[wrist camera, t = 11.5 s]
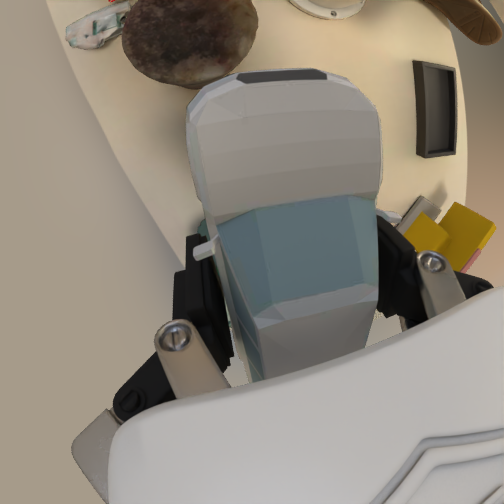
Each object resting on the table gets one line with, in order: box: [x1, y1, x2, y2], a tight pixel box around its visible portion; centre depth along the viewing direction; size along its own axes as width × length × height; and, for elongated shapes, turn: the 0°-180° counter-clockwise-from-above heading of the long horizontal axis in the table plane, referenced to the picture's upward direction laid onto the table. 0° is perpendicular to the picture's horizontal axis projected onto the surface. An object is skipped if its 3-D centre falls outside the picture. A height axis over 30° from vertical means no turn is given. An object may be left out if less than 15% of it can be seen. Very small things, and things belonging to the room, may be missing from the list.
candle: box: [122, 0, 258, 89], centre depth 17 cm, size 8×7×20 cm
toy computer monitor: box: [396, 196, 496, 273], centre depth 40 cm, size 20×8×16 cm, turn 146°
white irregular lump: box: [66, 1, 130, 50], centre depth 19 cm, size 4×8×7 cm
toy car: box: [186, 68, 402, 383], centre depth 9 cm, size 6×13×5 cm, turn 7°
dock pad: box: [413, 61, 457, 158], centre depth 32 cm, size 16×9×2 cm, turn 11°
